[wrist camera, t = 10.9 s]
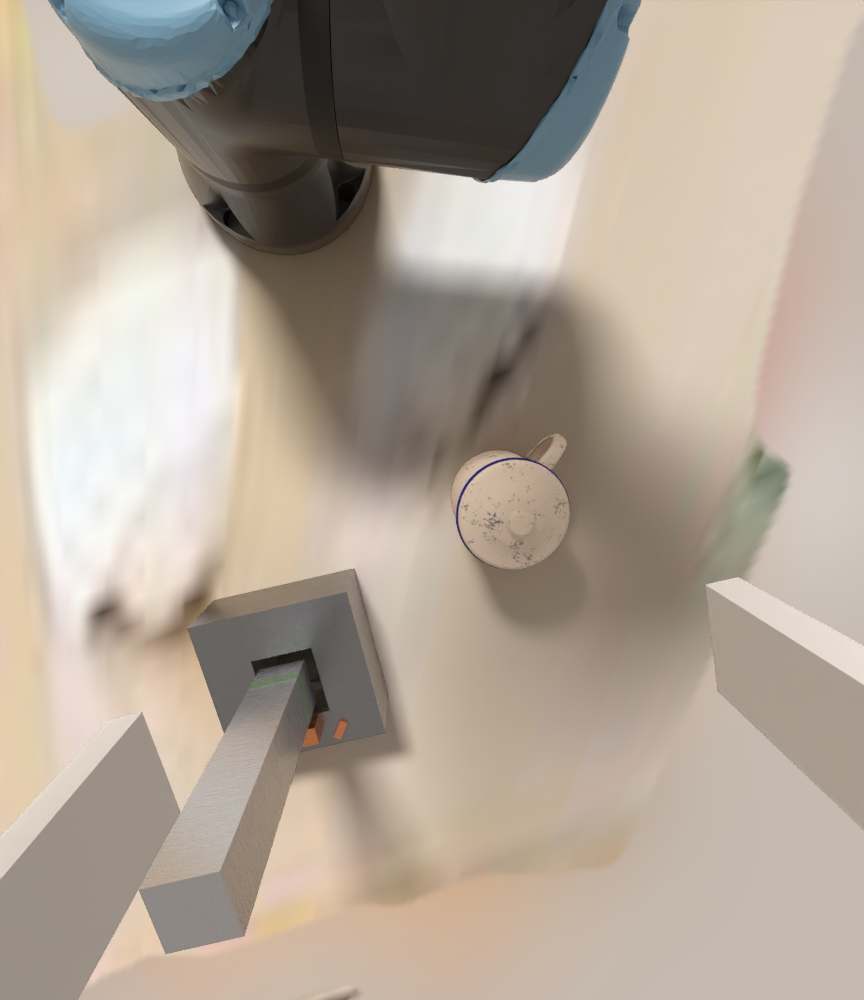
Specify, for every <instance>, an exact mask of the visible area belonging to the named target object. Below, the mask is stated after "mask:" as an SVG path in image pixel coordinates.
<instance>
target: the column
mask: <svg viewBox="0 0 864 1000" xmlns="http://www.w3.org/2000/svg"><path fill="white" fill-rule="evenodd" d="M315 703H316V696H315V693H314V690H313V686H312V683H311V680H310V677H309V673H308V670H307V667H306V663H305V660H300V661H296V662H291V663H287V664H283V665H278V666H274V667H269V668H265V669H261V670H259V671H258V673H257V675H256V677H255V679H254V681H253V682H252V683H251V685H250V687H249V689H248V691H247V693H246V695H245V697H244V699H243V701H242V702H241V704H240V706H239V708H238V710H237V711H236V713H235V715H234V717H233V719H232V721H231V722H230V724H229V726H228V728H227V730H226V732H225V733H224V735H223V737H222V739H221V741H220V742H219V744H218V746H217V748H216V750H215V752H214V753H213V755H212V757H211V759H210V761H209V763H208V764H207V766H206V768H205V770H204V772H203V773H202V775H201V777H200V779H199V781H198V783H197V784H196V786H195V788H194V790H193V792H192V793H191V795H190V797H189V799H188V801H187V803H186V804H185V806H184V808H183V810H182V812H181V814H180V815H179V817H178V819H177V821H176V823H175V824H174V826H173V828H172V830H171V832H170V834H169V835H168V837H167V839H166V841H165V843H164V844H163V846H162V848H161V850H160V852H159V854H158V855H157V857H156V859H155V861H154V863H153V865H152V866H151V868H150V870H149V872H148V874H147V875H146V877H145V879H144V881H143V883H142V885H141V886H140V888H139V892H140V894H141V897H142V899H143V901H144V904H145V906H146V908H147V911H148V913H149V916H150V918H151V920H152V923H153V925H154V927H155V930H156V932H157V935H158V937H159V939H160V942H161V944H162V946H163V949H164V951H165V954H168V953H173V952H177V951H181V950H186V949H190V948H195V947H199V946H203V945H208V944H212V943H217V942H221V941H225V940H230V939H234V938H239V937H243V936H245V932H246V929H247V926H248V923H249V919H250V916H251V913H252V910H253V907H254V903H255V900H256V897H257V894H258V890H259V887H260V883H261V880H262V877H263V873H264V870H265V867H266V864H267V861H268V858H269V854H270V851H271V848H272V844H273V841H274V837H275V834H276V831H277V828H278V824H279V821H280V818H281V815H282V812H283V808H284V805H285V801H286V798H287V795H288V792H289V788H290V785H291V782H292V779H293V776H294V772H295V769H296V765H297V762H298V759H299V756H300V753H301V749H302V746H303V742H304V739H305V736H306V733H307V730H308V726H309V723H310V721H311V717H312V714H313V710H314V706H315Z"/></svg>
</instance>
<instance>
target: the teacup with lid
mask: <svg viewBox="0 0 864 1000" xmlns="http://www.w3.org/2000/svg"><path fill="white" fill-rule="evenodd" d="M566 446H567V442H566V440H565V439H564V438H563V437H562V436H561V435H559V434H552V435H549V436H547V437H546V438H544V439H543V440H541V441H540V442H539V443H538V444H537V445H536V446H535V447H534V448H533V449H532V450H531V452H530V453H529V454H528V455H527V456H526V458H523V457H521V456H519V455H517V454H515V453H512V452H509V451H503V450H492V451H486V452H483V453H480V454H478V455H476V456H474V457H472V458H471V459H470V460H468V461H467V462H466V463H465V464H464V465H463V466H462V467H461V468H460V470H459V471H458V473H457V475H456V477H455V479H454V481H453V484H452V489H451V503H452V508H453V511H454V514H455V516H456V523H457V528H458V532H459V535H460V537H461V539H462V541H463V543H464V545H465V546H466V548H467V549H468V550H469V551H470V552H471V553H472V554H473V555H474V556H475V557H476V558H477V559H479V560H480V561H482V562H484V563H486V564H488V565H490V566H493V567H496V568H501V569H522V568H526V567H530V566H532V565H535V564H537V563H539V562H541V561H543V560H544V559H546V558H547V557H548V556H549V555H551V554H552V553H553V552H554V551H555V550H556V548H557V547H558V546H559V545H560V543H561V541H562V540H563V538H564V536H565V534H566V531H567V528H568V524H569V519H570V504H569V499H568V495H567V492H566V490H565V488H564V485H563V484H562V482H561V481H560V479H559V478H558V477H557V476H556V475H555V473H554V472H552V471H551V470H552V469H553V467H554V466H555V465H556V464H557V462H558V461H559V460H560V458H561V457H562V455H563V453H564V451H565V449H566Z"/></svg>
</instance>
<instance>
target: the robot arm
mask: <svg viewBox="0 0 864 1000" xmlns="http://www.w3.org/2000/svg"><path fill="white" fill-rule="evenodd" d="M48 1H49V3H50V4H51V6H52V8H53V9H54V11H55V12H56V14H57V15H58V16H59V18H60V19H61V20H62V22H63V23H64V24H65V25H66V27H67V28H68V29H69V30H70V32H71V33H72V34H73V35H74V36H75V38H76V39H77V40H78V41H79V43H80V45H81V46H82V48H83V50H84V52H85V53H86V55H87V57H88V58H90V59H91V60H92V61H93V63H94V65H95V67H96V68H97V70H98V71H99V72H100V73H101V74H102V75H103V76H104V77H105V78H106V79H107V80H108V81H109V82H111V83H112V84H113V85H114V86H116V87H117V88H118V89H119V90H120V91H121V92H122V93H123V94H124V95H125V96H126V97H127V98H128V99H129V100H130V101H131V102H132V103H133V104H134V105H135V106H136V108H137V109H138V110H139V111H140V112H141V113H142V114H143V115H144V116H145V117H146V118H147V119H148V120H149V121H150V122H151V123H152V124H153V125H154V126H155V127H156V128H157V129H158V130H159V131H160V132H161V133H162V134H163V135H164V136H165V137H166V138H167V139H168V140H169V141H170V142H171V143H172V144H173V145H174V146H175V147H176V150H177V154H178V158H179V162H180V165H181V168H182V171H183V174H184V176H185V179H186V181H187V183H188V185H189V187H190V189H191V191H192V193H193V194H194V196H195V197H196V199H197V200H198V202H199V203H200V205H201V206H202V207H203V209H204V210H205V211H206V212H207V213H208V215H209V216H210V217H211V218H212V219H213V220H214V221H215V222H216V223H218V224H219V225H220V226H221V227H222V228H223V229H224V230H225V231H226V232H228V233H229V234H230V235H232V236H233V237H234V238H236V239H237V240H239V241H240V242H242V243H244V244H246V245H248V246H250V247H252V248H255V249H257V250H260V251H264V252H268V253H273V254H282V255H293V254H301V253H306V252H310V251H313V250H316V249H318V248H320V247H323V246H325V245H326V244H328V243H330V242H331V241H333V240H334V239H336V238H337V237H338V236H340V235H341V234H342V233H343V232H344V231H345V230H346V229H347V228H348V227H349V226H350V224H351V223H352V222H353V221H354V219H355V218H356V216H357V215H358V213H359V211H360V210H361V208H362V206H363V204H364V201H365V199H366V196H367V193H368V190H369V186H370V182H371V176H372V166H373V165H375V166H383V167H391V168H399V169H408V170H416V171H424V172H432V173H440V174H448V175H456V176H464V177H472V178H473V179H474V180H476V181H478V182H482V183H487V182H495V181H497V180H508V181H523V182H537V181H539V180H542V179H546V178H548V177H549V176H552V175H554V174H555V173H557V172H558V171H559V170H561V169H562V168H563V167H564V166H565V165H566V164H567V163H568V162H569V161H570V160H571V158H572V157H573V156H574V155H575V153H576V152H577V151H578V149H579V148H580V146H581V145H582V143H583V142H584V140H585V139H586V137H587V135H588V134H589V132H590V130H591V129H592V127H593V125H594V123H595V121H596V119H597V117H598V116H599V114H600V111H601V109H602V107H603V105H604V103H605V101H606V99H607V97H608V95H609V92H610V90H611V88H612V85H613V83H614V81H615V78H616V76H617V73H618V71H619V68H620V66H621V63H622V61H623V58H624V55H625V52H626V50H627V46H628V42H629V37H628V30H629V26H630V24H631V23H632V20H633V18H634V16H635V14H636V12H637V11H638V9H639V7H640V4H641V0H48ZM705 587H706V595H707V604H708V613H709V621H710V630H711V639H712V647H713V656H714V665H715V673H716V681H717V691H718V692H719V693H720V694H721V695H722V696H723V697H724V698H725V699H726V700H728V701H729V702H730V703H731V704H732V705H733V706H734V707H735V708H736V709H737V710H738V711H739V712H740V713H741V714H742V715H743V716H744V717H745V718H746V719H748V721H749V722H751V723H752V724H753V725H754V726H755V727H756V728H757V729H758V730H759V731H760V732H761V733H762V734H763V735H764V736H765V737H766V738H767V739H769V740H770V742H772V743H773V744H774V745H775V746H776V747H777V748H778V749H779V750H780V751H781V752H782V753H783V754H784V755H785V756H786V757H787V758H788V759H789V760H791V761H792V762H793V763H794V764H795V765H796V766H797V767H798V768H799V769H800V770H801V771H802V772H803V773H804V774H805V775H806V776H807V777H808V778H809V779H810V780H811V781H812V782H814V783H815V784H816V785H817V786H818V787H819V788H820V789H821V790H822V791H823V792H824V793H825V794H826V795H827V796H828V797H829V798H830V799H832V801H833V802H835V803H836V804H837V805H838V806H839V807H840V808H841V809H842V810H843V811H844V812H845V813H846V814H847V815H848V816H849V817H850V818H851V819H852V820H853V821H855V822H856V823H857V824H858V825H859V826H860V827H861V828H862V829H863V830H864V646H863V645H861V644H860V643H858V642H856V641H854V640H852V639H850V638H849V637H847V636H845V635H843V634H841V633H839V632H838V631H836V630H834V629H832V628H830V627H828V626H826V625H825V624H823V623H821V622H819V621H817V620H815V619H814V618H812V617H810V616H808V615H806V614H805V613H803V612H801V611H799V610H797V609H796V608H794V607H792V606H790V605H788V604H786V603H784V602H783V601H781V600H779V599H777V598H775V597H774V596H772V595H770V594H768V593H766V592H764V591H762V590H761V589H759V588H757V587H755V586H753V585H751V584H750V583H748V582H746V581H744V580H742V579H741V578H739V577H736V578H732V579H728V580H723V581H719V582H714V583H710V584H706V585H705ZM180 813H181V812H180V810H179V807H178V804H177V802H176V799H175V797H174V794H173V791H172V789H171V786H170V784H169V781H168V778H167V776H166V773H165V771H164V768H163V765H162V763H161V760H160V758H159V755H158V752H157V750H156V747H155V745H154V742H153V739H152V737H151V734H150V732H149V729H148V726H147V724H146V721H145V718H144V716H143V713H142V712H141V713H136V714H132V715H127V716H123V717H118V718H114V719H110V720H108V721H107V723H106V724H105V725H104V726H103V727H102V728H101V729H100V730H99V731H98V732H97V733H96V734H95V735H94V737H93V738H92V739H91V740H90V741H89V742H88V743H87V744H86V745H85V746H84V747H83V748H82V749H81V750H80V752H79V753H78V754H77V755H76V756H75V757H74V758H73V759H72V760H71V761H70V762H69V763H68V764H67V766H66V767H65V768H64V769H63V770H62V771H61V772H60V773H59V774H58V775H57V776H56V777H55V778H54V780H53V781H52V782H51V783H50V784H49V785H48V786H47V787H46V788H45V789H44V790H43V791H42V792H41V794H40V795H39V796H38V797H37V798H36V799H35V800H34V801H33V802H32V803H31V804H30V805H29V806H28V808H27V809H26V810H25V811H24V812H23V813H22V814H21V815H20V816H19V817H18V818H17V819H16V820H15V822H14V823H13V824H12V825H11V826H10V827H9V828H8V829H7V830H6V831H5V832H4V833H3V834H2V835H1V837H0V1000H78V998H79V997H80V995H81V993H82V991H83V989H84V988H85V986H86V984H87V982H88V980H89V978H90V977H91V975H92V973H93V971H94V969H95V968H96V966H97V964H98V962H99V960H100V958H101V957H102V955H103V953H104V951H105V949H106V948H107V946H108V944H109V942H110V940H111V938H112V937H113V935H114V933H115V931H116V929H117V928H118V926H119V924H120V922H121V920H122V918H123V917H124V915H125V913H126V911H127V909H128V907H129V906H130V904H131V902H132V900H133V898H134V897H135V895H136V893H137V891H138V889H139V887H140V886H141V884H142V882H143V880H144V878H145V877H146V875H147V873H148V871H149V869H150V867H151V866H152V864H153V862H154V860H155V858H156V857H157V855H158V853H159V851H160V849H161V847H162V846H163V844H164V842H165V840H166V838H167V837H168V835H169V833H170V831H171V829H172V827H173V826H174V824H175V822H176V820H177V818H178V816H179V815H180Z"/></svg>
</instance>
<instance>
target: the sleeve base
mask: <svg viewBox="0 0 864 1000" xmlns="http://www.w3.org/2000/svg"><path fill="white" fill-rule="evenodd" d="M187 629H188V632H189V634H190V637H191V640H192V643H193V646H194V649H195V652H196V654H197V657H198V660H199V663H200V666H201V669H202V672H203V674H204V677H205V680H206V683H207V686H208V689H209V692H210V694H211V697H212V700H213V703H214V706H215V709H216V712H217V714H218V717H219V720H220V723H221V726H222V729H223V732H224V733H225V732H226V730H227V728H228V726H229V724H230V722H231V721H232V719H233V717H234V715H235V713H236V711H237V710H238V708H239V706H240V704H241V702H242V701H243V699H244V697H245V695H246V693H247V691H248V689H249V687H250V685H251V683H252V682H253V681H254V679H255V677H256V675H257V673H258V671H259V670H261V669H265V668H269V667H274V666H278V665H280V663H279V660H278V655H282V654H287V653H291V652H295V651H300V650H304V649H309V648H311V649H312V653H313V656H314V659H315V663H316V666H317V669H318V673H319V676H320V679H318V680H314V681H311V683H312V686H313V690H314V693H315V696H316V703H315V706H314V710H313V714H312V717H311V721H310V723H309V726H308V730H307V733H306V736H305V739H304V742H303V746H302V749H301V752H302V751H307V750H311V749H315V748H320V747H324V746H328V745H333V744H337V743H342V742H346V741H350V740H355V739H359V738H364V737H368V736H372V735H377V734H381V733H385V730H386V716H387V702H388V693H387V689H386V685H385V682H384V678H383V674H382V671H381V667H380V663H379V659H378V656H377V652H376V648H375V644H374V641H373V637H372V633H371V630H370V626H369V622H368V618H367V615H366V611H365V607H364V604H363V600H362V596H361V592H360V589H359V585H358V581H357V577H356V574H355V570H354V569H350V570H346V571H341V572H337V573H333V574H328V575H324V576H319V577H315V578H311V579H306V580H302V581H297V582H293V583H289V584H284V585H280V586H275V587H271V588H267V589H262V590H258V591H253V592H249V593H245V594H240V595H236V596H231V597H227V598H223V599H218V600H214V601H213V602H212V603H211V604H210V605H209V606H208V607H207V608H206V609H205V610H204V611H203V612H202V613H201V614H200V615H199V616H198V617H197V619H196V620H195V621H194V622H193V623H192V624H191V625H190V626H189V627H188V628H187Z"/></svg>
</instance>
